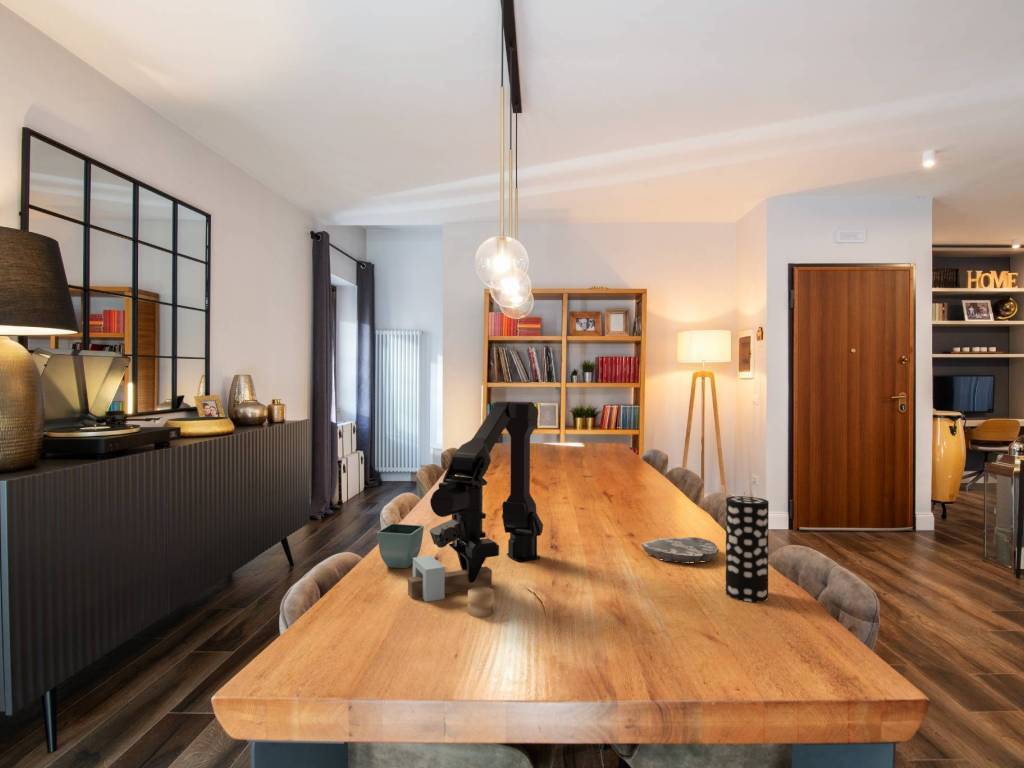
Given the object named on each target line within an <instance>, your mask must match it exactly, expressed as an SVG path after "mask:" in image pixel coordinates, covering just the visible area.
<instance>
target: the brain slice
mask: <svg viewBox="0 0 1024 768" xmlns="http://www.w3.org/2000/svg"><path fill="white" fill-rule="evenodd" d="M641 547H642V548H643V550H644V552H645V553H646V554H648V555H649V554H651V555H653V556H652V557H654V556H655V557H654V558H656V557H657V558H656V559H657V560H659V559H663V561H664V560H666V561H678V562H677V563H679V562H689V563H690V562H698V561H707V562H709V561H710V560H712V559H713V558H715V557H716V556H717V554H718V553H719V551H720V549H719V548H718V546H717V545H716V544H715V542H713V541H711V540H708V539H705V538H701V537H696V536H695V537H694V536H691V537H662V538H661V537H660V538H655V539H654V540H649V541H645V542H642V543H641ZM651 555H650V556H651ZM708 560H709V561H708ZM666 561H665V562H666ZM689 563H688V564H689ZM698 563H699V562H698Z"/></svg>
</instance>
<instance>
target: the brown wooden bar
mask: <svg viewBox="0 0 1024 768" xmlns="http://www.w3.org/2000/svg"><path fill="white" fill-rule="evenodd" d="M492 571H493V570H492V569H491V568H489V566H482V567H481V569H480V571H479V573H478V575H477V577H476V579H475V581H474V582H471V583H470V582H469V578H468V571H467V569H465V570H462V569H458V570H453V571H446V572H445V587H444V594H449V593H455V592H461V591H469V590H470V589H472V588H476V587H491V586H493V585H492V583H493V582H492V581H493V579H492V578H493V577H492ZM407 595H408V596H409V597H410V599H418V598H423V576H418V577H413V576H412V577H411V576H410V577H407Z"/></svg>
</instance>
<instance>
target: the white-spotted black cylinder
mask: <svg viewBox="0 0 1024 768" xmlns="http://www.w3.org/2000/svg"><path fill="white" fill-rule="evenodd" d="M769 506H770V505H769V500H767V499H765V498H761V497H754V496H743V495H741V496H739V495H736V496H735V495H734V496H728V497H726V498H725V595H727V596H728V595H729V596H730V597H729V596H728V597H729V598H731V597H732V598H731V599H734V598H735V599H734V600H736V599H738V600H737V601H740V600H742V602H745V601H749V602H748V603H758V602H757V601H763V602H765V601H764V600H766V599H767V598H768V599H769ZM768 599H767V600H768ZM767 600H766V601H767Z"/></svg>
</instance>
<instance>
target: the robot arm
mask: <svg viewBox="0 0 1024 768" xmlns="http://www.w3.org/2000/svg"><path fill="white" fill-rule="evenodd" d="M538 417H539V409H538V407H537V406H536V405H535V403H534V402H533V401H509V400H508V401H504V400H503V401H501V400H499V401H495V402H493V403H492V405H491V410H490V411H489V413H488V414H487V416H486V418H485V419H484V421H483V422H482V423H481V425H480V427H479V428H478V430H477V432H476V433H475V434H474V436H473V437H472V438H471V439H470V440H468V441H467V442H464V443H463V444H461V445H460V446H459V448H458V449H456V451H455V452H454V453H453V455H452V457H451V460H450V462H449V464H448V467H447V469H446V471H445V474H444V477H443V478H442V482H439V483H438V489H436V490H435V491H434V492H433V493H432V495H431V497H430V499H429V501H430V502H429V503H430V508H431V509H432V512H433V513H434V515H436V516H438V517H440V518H447V517H449V516H451V519H450V520H448V521H444V522H442V523H440V524H438V525H436V526H434V527H432V528H430V530H429V534H430V537H431V540H432V542H433V545H436V546H437V547H438V549H439V548H440V549H441V548H444V547H447V545H448V546H449V547H451V549H452V550H453V551H455V552H456V554H457V557H458V561H459V565H460V570H465V569H467V571H468V578H469V582H470V583H471V582H474V581H475V579H476V577H477V575H478V573H479V571H480V569H481V567H483V564H484V563H485V562H486V559H487V558H492V557H494V558H495V557H499V555H500V545H499V544H497V542H496V541H494V540H492V539H490V538H486V537H487V535H486V532H485V531H483V520H484V519H487V515H486V514H487V513H485V512H483V502H484V499H483V492H484V491H483V486H487V484H488V481H487V480H486V479H485V478H484V477H485V475H486V474H487V471H488V469H489V466H490V464H491V462H492V459H491V452H492V450H493V448H494V447H495V445H496V443H497V442H498V440H499V438H500V436H501V435H502V434H503V431H504V430H505V429H506V431H507V433H508V435H509V436H510V475H509V476H510V477H509V478H510V490H509V492H510V493H509V495H508V497H507V498H506V501H503V502H502V514H501V518H502V524H503V529H504V533H507V534H508V533H509V539H508V543H507V545H508V548H507V550H508V551H507V553H506V555H507V557H509V558H511V559H513V560H514V561H516V562H524V561H532V560H538V559H541V556H540V555H539V554H538V537H539V536H541V535H542V533H543V530H544V524H543V522H542V520H541V519H540V517H539V515H538V513H537V512H538V511H537V504H536V502H535V500H534V498H533V497H532V494H531V493H530V492H531V491H530V488H531V486H530V483H531V480H530V479H531V474H530V473H531V468H530V466H531V435H532V434H533V432H534V431H535V429H536V428H537V424H538Z"/></svg>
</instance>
